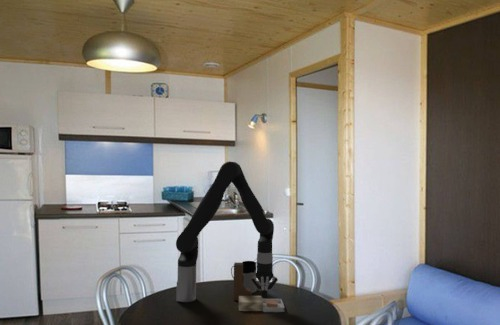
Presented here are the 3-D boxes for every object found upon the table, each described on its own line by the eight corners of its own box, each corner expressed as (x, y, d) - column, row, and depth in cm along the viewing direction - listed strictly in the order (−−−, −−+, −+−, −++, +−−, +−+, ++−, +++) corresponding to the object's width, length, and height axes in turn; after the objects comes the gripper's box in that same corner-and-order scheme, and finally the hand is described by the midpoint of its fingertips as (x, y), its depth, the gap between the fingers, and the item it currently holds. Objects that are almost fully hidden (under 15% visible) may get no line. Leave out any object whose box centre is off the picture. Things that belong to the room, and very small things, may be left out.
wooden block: (251, 298, 195) (252, 262, 195) (251, 301, 191) (251, 264, 191) (233, 297, 195) (234, 262, 196) (233, 300, 191) (233, 264, 191)
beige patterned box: (238, 310, 177) (239, 302, 177) (238, 304, 186) (238, 295, 186) (262, 310, 178) (262, 302, 178) (261, 304, 187) (261, 295, 187)
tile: (277, 304, 180) (277, 308, 180) (276, 300, 185) (276, 304, 185) (267, 304, 180) (267, 308, 180) (266, 300, 185) (266, 304, 185)
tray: (262, 312, 176) (263, 307, 176) (261, 302, 188) (261, 298, 188) (284, 312, 177) (284, 307, 177) (281, 302, 189) (281, 298, 189)
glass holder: (258, 292, 204) (258, 264, 204) (232, 293, 201) (232, 265, 201) (254, 287, 213) (255, 260, 213) (229, 288, 210) (229, 261, 210)
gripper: (251, 263, 179) (250, 300, 178) (279, 263, 179) (278, 300, 179) (250, 259, 186) (249, 295, 186) (277, 259, 187) (277, 295, 186)
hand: (264, 297), depth 182 cm, fingers closed
